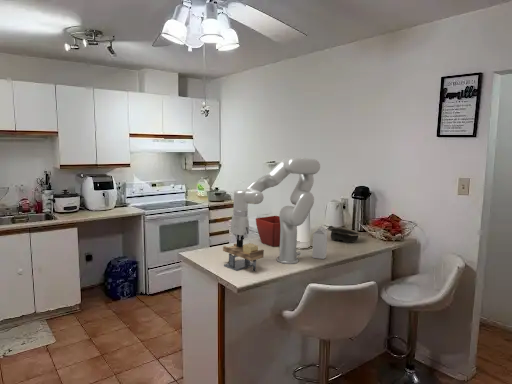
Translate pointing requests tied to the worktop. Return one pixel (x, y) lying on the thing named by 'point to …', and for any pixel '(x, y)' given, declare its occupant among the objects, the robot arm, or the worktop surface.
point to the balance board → (239, 252)
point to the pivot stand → (239, 263)
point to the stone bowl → (344, 234)
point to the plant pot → (269, 230)
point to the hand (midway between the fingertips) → (239, 246)
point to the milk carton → (319, 243)
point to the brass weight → (249, 248)
